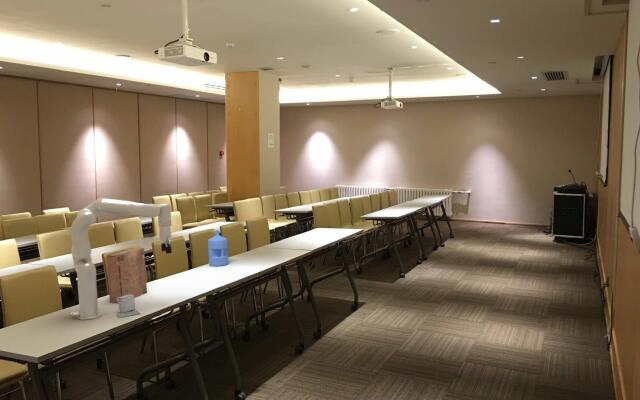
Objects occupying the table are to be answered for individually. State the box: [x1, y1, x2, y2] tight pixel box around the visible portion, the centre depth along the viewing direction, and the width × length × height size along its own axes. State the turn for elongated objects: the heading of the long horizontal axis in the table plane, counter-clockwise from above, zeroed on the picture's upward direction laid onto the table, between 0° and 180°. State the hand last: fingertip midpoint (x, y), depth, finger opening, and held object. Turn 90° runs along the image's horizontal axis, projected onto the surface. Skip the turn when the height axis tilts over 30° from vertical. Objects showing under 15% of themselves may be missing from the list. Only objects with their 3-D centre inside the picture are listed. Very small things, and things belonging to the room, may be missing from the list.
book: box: [106, 247, 148, 304], centre depth 329 cm, size 25×9×30 cm, turn 164°
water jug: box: [207, 229, 229, 267], centre depth 422 cm, size 16×16×28 cm
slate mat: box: [115, 310, 142, 319], centre depth 294 cm, size 12×8×1 cm, turn 121°
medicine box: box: [117, 295, 136, 313], centre depth 300 cm, size 8×4×9 cm, turn 141°
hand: (166, 252), depth 313 cm, fingers open, 9 cm apart
